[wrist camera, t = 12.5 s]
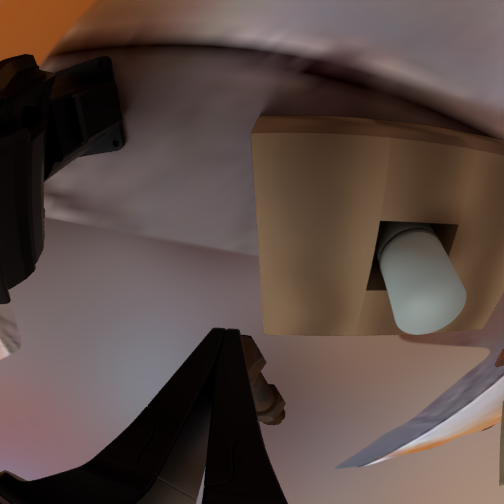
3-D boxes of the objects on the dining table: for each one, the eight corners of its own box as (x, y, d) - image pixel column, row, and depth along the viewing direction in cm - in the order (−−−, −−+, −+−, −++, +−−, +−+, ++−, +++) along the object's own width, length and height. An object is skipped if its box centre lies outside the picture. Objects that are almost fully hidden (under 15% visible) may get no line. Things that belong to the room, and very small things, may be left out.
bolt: (270, 391, 39) (229, 324, 30) (302, 405, 36) (270, 341, 27) (245, 425, 36) (192, 369, 27) (276, 442, 32) (232, 392, 24)
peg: (363, 246, 21) (385, 336, 15) (371, 194, 19) (405, 277, 12) (415, 247, 21) (450, 332, 14) (427, 198, 18) (478, 277, 12)
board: (268, 295, 25) (263, 334, 22) (259, 115, 17) (250, 133, 13) (467, 294, 23) (482, 328, 19) (517, 144, 14) (550, 167, 11)
